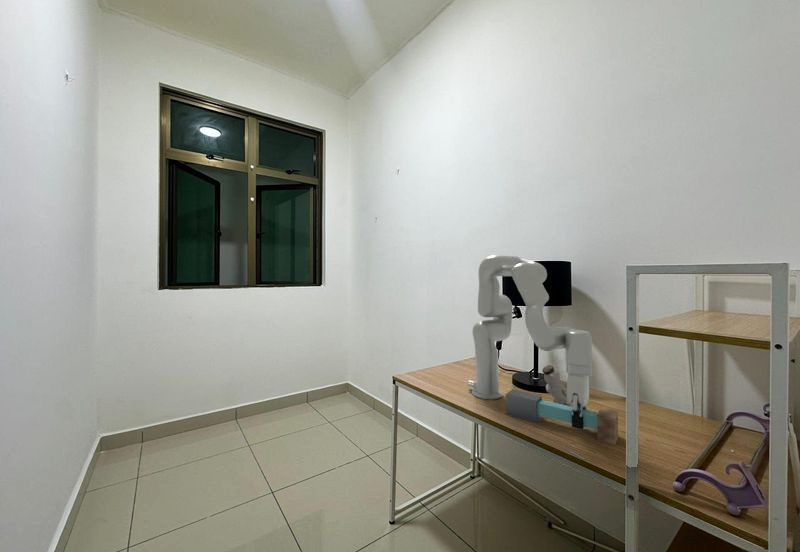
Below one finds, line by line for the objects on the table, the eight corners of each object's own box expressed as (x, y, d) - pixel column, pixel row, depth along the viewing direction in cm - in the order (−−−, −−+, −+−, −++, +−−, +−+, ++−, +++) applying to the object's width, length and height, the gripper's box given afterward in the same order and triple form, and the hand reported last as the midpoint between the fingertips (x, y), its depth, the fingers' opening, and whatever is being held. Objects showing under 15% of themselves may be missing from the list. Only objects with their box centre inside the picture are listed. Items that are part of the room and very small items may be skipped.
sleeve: (506, 414, 116) (505, 393, 116) (512, 409, 121) (512, 389, 121) (536, 423, 109) (536, 400, 109) (542, 417, 114) (541, 395, 114)
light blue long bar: (529, 412, 112) (529, 401, 112) (533, 409, 115) (533, 397, 115) (611, 433, 96) (611, 420, 96) (613, 428, 99) (613, 415, 99)
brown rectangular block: (597, 440, 97) (597, 414, 97) (601, 431, 103) (600, 407, 103) (615, 445, 94) (614, 418, 95) (618, 436, 100) (617, 411, 100)
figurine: (544, 398, 132) (544, 361, 132) (572, 403, 127) (571, 365, 127) (541, 405, 124) (541, 366, 125) (571, 410, 119) (570, 370, 119)
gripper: (572, 361, 113) (572, 413, 112) (559, 372, 100) (560, 431, 100) (596, 365, 108) (597, 419, 108) (586, 377, 95) (587, 438, 95)
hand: (579, 424), depth 104 cm, fingers open, 4 cm apart
